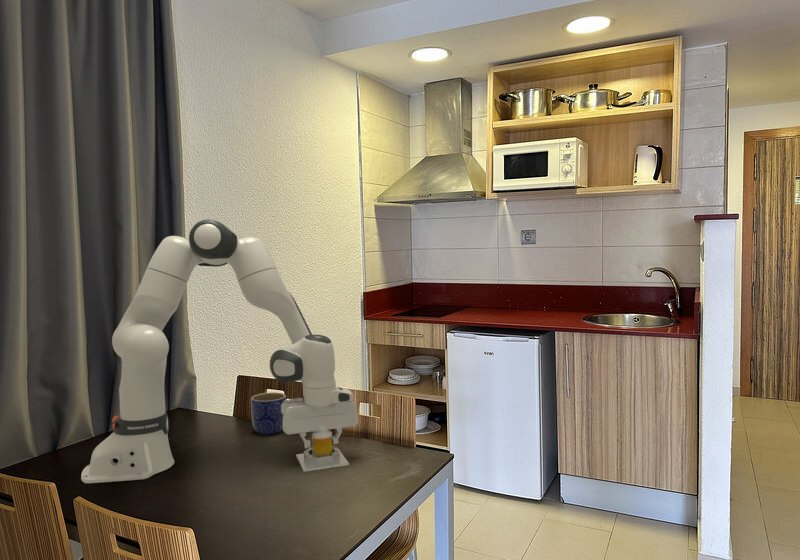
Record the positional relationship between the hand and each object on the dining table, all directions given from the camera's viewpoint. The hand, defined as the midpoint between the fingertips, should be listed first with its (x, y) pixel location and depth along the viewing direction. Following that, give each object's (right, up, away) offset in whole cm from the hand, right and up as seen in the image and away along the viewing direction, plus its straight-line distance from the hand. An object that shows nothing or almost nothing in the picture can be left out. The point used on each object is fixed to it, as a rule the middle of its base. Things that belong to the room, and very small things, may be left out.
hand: (321, 445), depth 163 cm
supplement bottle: (0, -4, 0) cm, 4 cm away
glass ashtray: (0, -4, +1) cm, 4 cm away
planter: (-20, -3, +27) cm, 34 cm away
